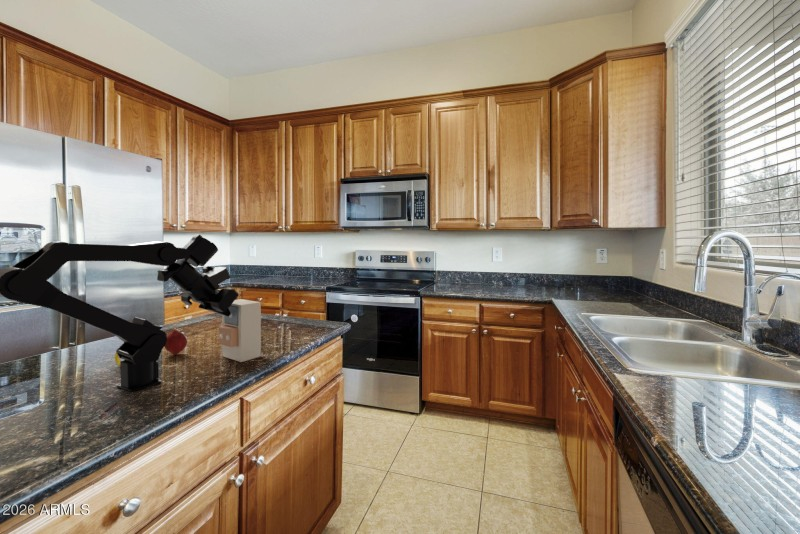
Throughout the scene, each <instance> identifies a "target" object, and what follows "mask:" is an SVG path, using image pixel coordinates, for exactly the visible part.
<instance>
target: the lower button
mask: <svg viewBox="0 0 800 534" xmlns="http://www.w3.org/2000/svg"><path fill="white" fill-rule="evenodd" d="M218 344H219V345H221V346H222V345H225V346H228V347H235V346H239V341H238V328H237V327H232V326H228V325H225V326H222V325H221V326H218Z"/></svg>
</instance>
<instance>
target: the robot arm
mask: <svg viewBox="0 0 800 534" xmlns="http://www.w3.org/2000/svg"><path fill="white" fill-rule="evenodd" d="M218 251H219V248H218V247H217V245H216V244H215V243H214V242H212V241H210V240H209V239H208V238H205V237H203V235H201V234H194V235H193V236H192V238H190V241H188V242H187V243H186V244H185V245H184V246H183V247H177V246H175V244H173V243H171V242H166V241H148V242H139V243H132V244H106V243H105V244H103V243H102V244H99V243H98V244H97V243H76V242H75V243H74V242H73V243H72V242H71V243H70V242H66V241H50V242H48V243H46V244H45V245H44V246H43V247H41V248H40V249H38V250H37V251H35V252H33V253H31V254H30V255H28V256H27V257H25V258H23V259H21V260H19V261H18V262H17V263H15V264H14V265H12V266H11V267H10V266H9V267H2V268H1V269H0V297H2V298H5V299H7V300H11V301H15V302H20V303H24V304H28V305H31V306H37V307H40V308H45V309H50V310H52V311H54V312H57V313H60V314H61V315H65V316H68V317H69V318H72V319H75V320H77V321H80V322H82V323H85V324H87V325H89V326H92V327H94V328H97V329H99V330H102V331H103V332H104V331H105V332H107V333H110V334H111V335H113V336H115V337H116V338H118V339H119V340H120V341H121V342H123V343H122V344H121V345H120V346H119V347H118V348H117V349H116V352H117V354H118V356H119V359H123V360H122V361H121V360H120V366H119V368H120V369H119V371H120V372H119V373H120V382H119V383H117V384H116V387H117V388H120V389H122V390H126V391H128V392H132V393H133V392H137V391H139V390H143V389H146V388H149V387H152V386H154V385H158V384H161V383H162V380H161V379H159V377H160V375H159V374H160V371H159V369H160V367H159V365H160V364H159V362H158V360H159V359H160V356H161V352H162V350H163V349H164V348H165V345H166V342H167V336H168V334H167V333H166V331H164V330H162V329H163V326H160V325H157V324H155V323H154V324H153V323H152V322H151V321H149V320H147V319H144V318H141V317H137V316H134V317H133V319H132V321H130V320H126V319H125V318H121V316H120V317H119V316H117V315H115V314H113V313H110V312H108V311H106V310H104V309H102V308H99V307H97V306H94V305H92V304H90V303H88V302H85V301H83V300H81V299H78V298H76V297H74V296H71V295H70V294H67V293H65V292H63V290H61V289H59V288H58V287H56V286H55V285H54V283H51V282H50V281H48V280H49V279H50V278H52V277H53V276H54V275H55V274H56V273H57V272H58V271H59V270H60V269H61V268H62V267H63V266H64V265H65V264H66V263H68V262H131V263H132V262H134V263H140V264H146V265H153V266H162V267H165V268H164V269H157V278H156V280H157V281H159V282H165V283H166V282H168V281H169V280H171V281H172V282H173V283H175V285H176V286H178V287H179V288H180V289H179V290H180V292H182V294H181V296H180V301H181V302H182V303H184V304H185V305H186V306H193V303H197V304H199V305H198V308H199V309H202V310H205V311H209V312H212V313H215V314H219V315H221V316H222V315H225V316H230V314H231V313H230V311H229V309H228V308H229V307H230V305H231V304H232V303H233V302H234V301H235V299H236V298H237V297H238V296H239V295H240V294H239V293H238V291H237V290H235V289H234V288H229V287H226V288H224V287H223V288H221V289H219V288H220V287H221V285H220V284H222V283H224V282H225V281H227V280H230V279H231V278H232V276H231V275H230V272H229V270H228V268H227V267H226V266H214V267H212V266H211V265H206V264H207V263H208V262H209V261H210V260H211V259H212V258H213V257H214V256H215V255H216V253H218ZM205 265H206V266H205ZM195 267H196V268H197V267H203V268H202V273H200V271H198V270H197V269H196V268H195ZM239 297H240V296H239ZM239 297H238V298H239ZM238 298H237V299H238Z"/></svg>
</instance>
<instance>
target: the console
mask: <svg viewBox="0 0 800 534" xmlns="http://www.w3.org/2000/svg"><path fill="white" fill-rule="evenodd" d="M237 299H238V300H235V301H234V302H233V303H232V304H231V305H232V306H237V307H238V325H235V324H230V323H226V322H225V315H221V326H225V325H228V326H232V327H237V328H238V341H239V346H235V347H228V346H225V345H221V351H222V352H221V354H222V355H221V356H222V357H224V358H227V359H230V360H233V361H236V362H239V363H242V362H246V361H250V360H252V359H257V358H260V357H261V356H262V354H261V353H262V351H261V348H262V347H261V343H262V342H261V336H262V335H261V333H262V331H261V327H262V325H261V323H262V322H261V319H262V317H261V316H262V315H261V312H262V311H261V309H262V308H261V307H262V303H261V301H257V300H256V301H255V300H249V299H245V298H244V299H243V298H237Z"/></svg>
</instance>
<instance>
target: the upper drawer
mask: <svg viewBox="0 0 800 534" xmlns="http://www.w3.org/2000/svg"><path fill="white" fill-rule="evenodd" d="M228 309H229V311H230V313H231V314H230V316H225V322H226V323H230V324H235V325H238V307H237V306H232V305H230V307H229V308H228Z"/></svg>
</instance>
